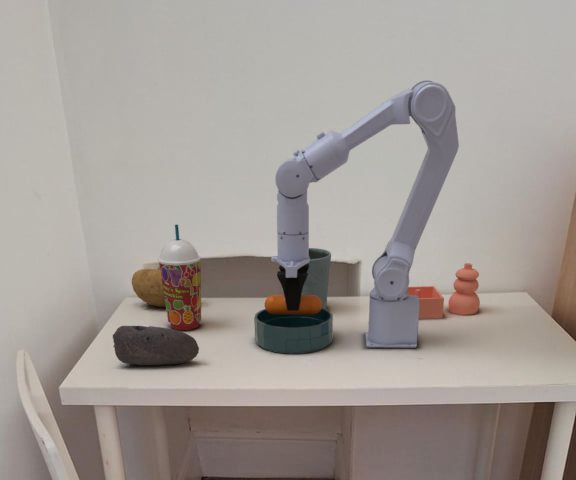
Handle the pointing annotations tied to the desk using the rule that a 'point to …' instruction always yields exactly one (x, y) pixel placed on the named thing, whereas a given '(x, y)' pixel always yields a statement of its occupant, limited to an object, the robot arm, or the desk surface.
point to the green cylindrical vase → (318, 275)
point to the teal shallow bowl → (293, 331)
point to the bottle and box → (459, 301)
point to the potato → (149, 286)
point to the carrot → (307, 307)
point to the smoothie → (181, 283)
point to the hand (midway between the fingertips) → (293, 306)
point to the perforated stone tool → (153, 345)
